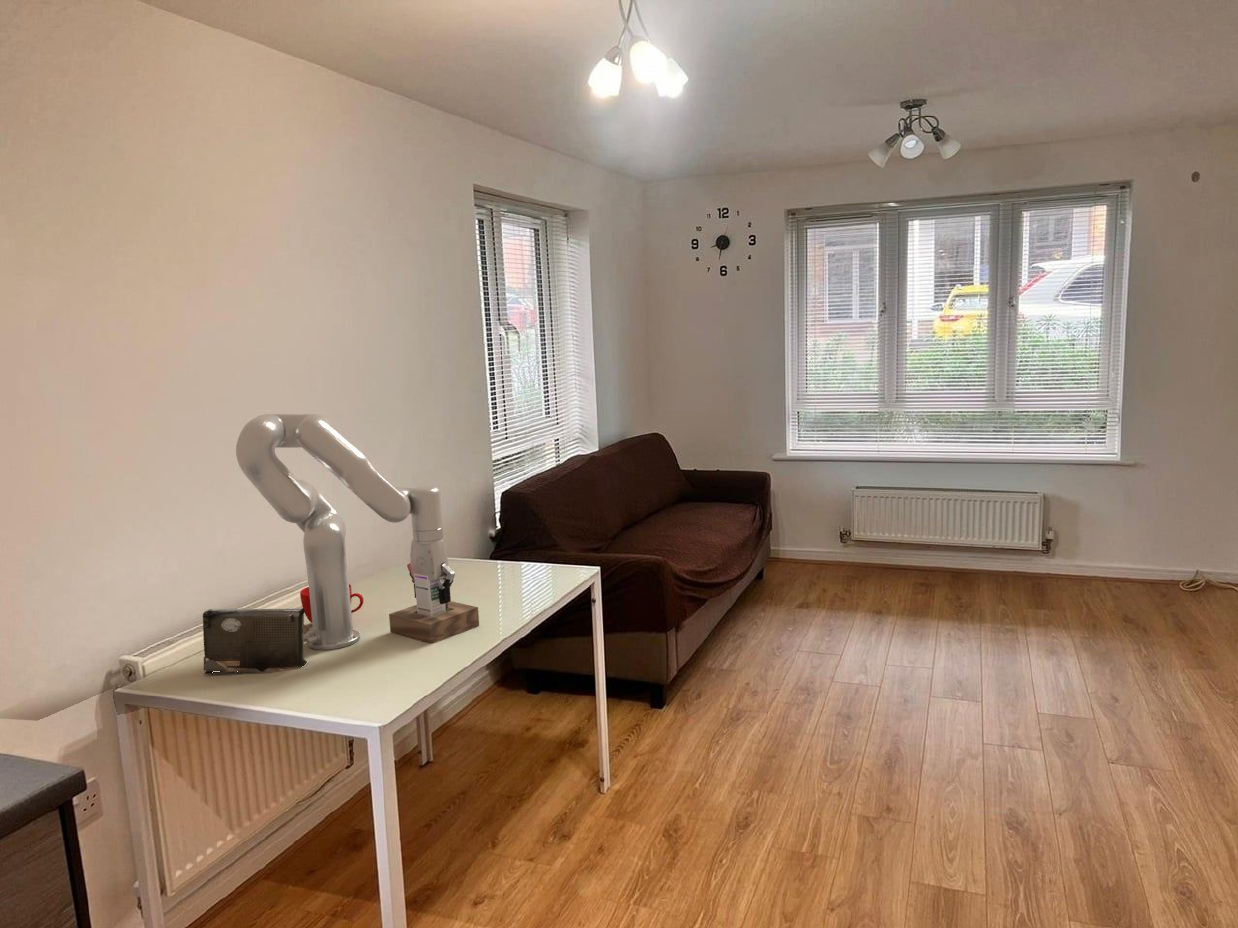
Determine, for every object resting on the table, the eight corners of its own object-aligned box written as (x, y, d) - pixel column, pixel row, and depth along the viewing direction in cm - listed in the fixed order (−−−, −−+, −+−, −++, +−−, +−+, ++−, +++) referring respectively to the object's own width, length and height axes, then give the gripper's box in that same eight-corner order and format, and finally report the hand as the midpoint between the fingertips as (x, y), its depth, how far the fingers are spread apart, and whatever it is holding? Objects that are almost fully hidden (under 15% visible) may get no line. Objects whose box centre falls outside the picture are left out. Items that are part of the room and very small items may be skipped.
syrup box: (432, 630, 222) (428, 575, 220) (417, 626, 226) (413, 572, 223) (449, 624, 226) (446, 569, 224) (434, 620, 230) (430, 566, 228)
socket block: (431, 643, 215) (429, 624, 214) (390, 632, 225) (389, 613, 224) (479, 625, 227) (478, 607, 227) (438, 615, 237) (437, 597, 236)
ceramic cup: (353, 634, 225) (349, 596, 223) (293, 632, 228) (290, 595, 227) (376, 618, 237) (373, 582, 236) (320, 616, 241) (316, 581, 239)
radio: (315, 660, 207) (309, 599, 205) (301, 673, 199) (295, 610, 197) (219, 662, 208) (212, 602, 206) (201, 676, 200) (193, 614, 198)
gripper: (394, 534, 225) (399, 598, 227) (439, 541, 214) (443, 609, 217) (417, 528, 231) (422, 591, 233) (462, 535, 220) (466, 601, 222)
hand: (432, 599), depth 225 cm, fingers open, 9 cm apart
